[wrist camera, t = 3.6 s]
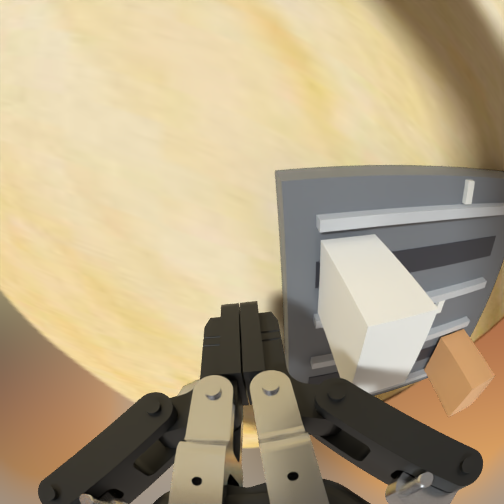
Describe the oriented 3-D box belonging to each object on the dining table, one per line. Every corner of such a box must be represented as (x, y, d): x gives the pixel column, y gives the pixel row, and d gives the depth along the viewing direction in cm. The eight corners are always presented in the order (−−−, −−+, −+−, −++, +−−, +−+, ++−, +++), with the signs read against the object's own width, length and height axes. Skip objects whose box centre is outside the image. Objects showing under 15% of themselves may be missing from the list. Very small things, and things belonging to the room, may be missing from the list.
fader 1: (320, 240, 12) (367, 326, 8) (375, 234, 12) (438, 309, 8) (317, 312, 15) (346, 398, 10) (364, 304, 15) (404, 381, 10)
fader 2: (440, 337, 17) (472, 389, 13) (463, 328, 17) (495, 375, 13) (424, 369, 20) (448, 417, 15) (446, 361, 20) (470, 405, 15)
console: (275, 170, 13) (283, 185, 11) (504, 171, 13) (527, 183, 11) (285, 396, 23) (289, 419, 21) (444, 354, 23) (454, 371, 21)
